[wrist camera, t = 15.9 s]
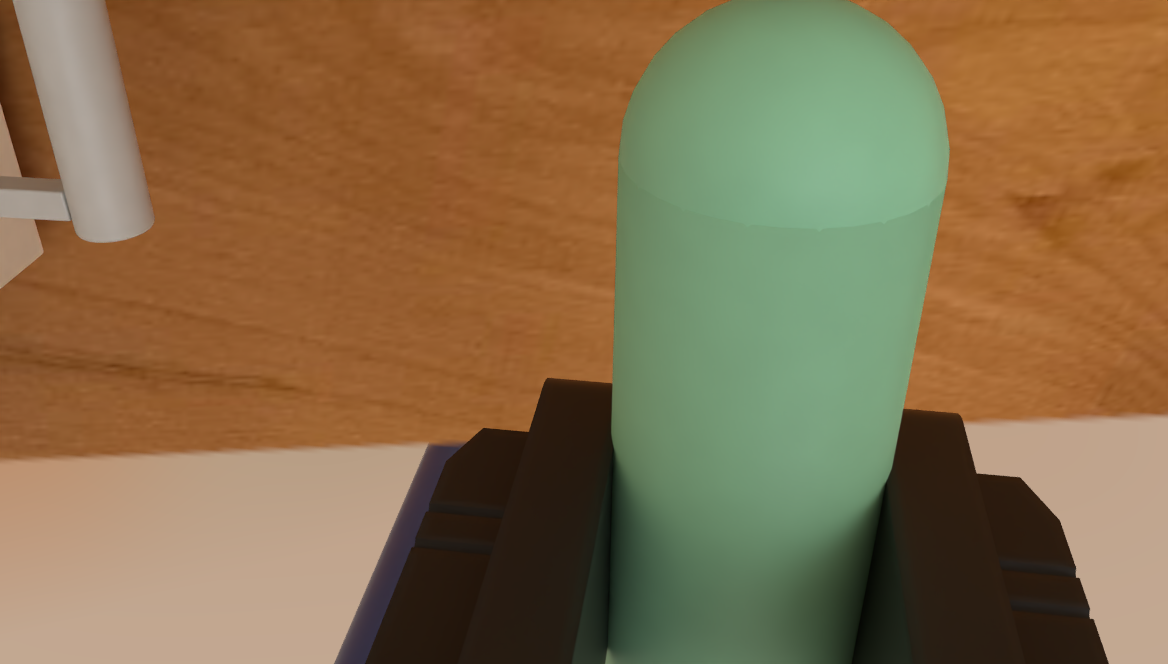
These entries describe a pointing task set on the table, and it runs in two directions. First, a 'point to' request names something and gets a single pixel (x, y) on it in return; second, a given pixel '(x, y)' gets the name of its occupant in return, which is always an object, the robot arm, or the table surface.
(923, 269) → the mint green pill
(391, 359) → the table surface
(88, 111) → the drawer
